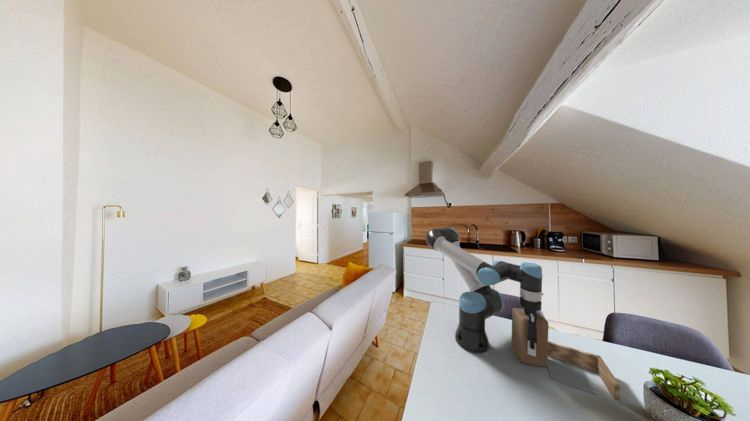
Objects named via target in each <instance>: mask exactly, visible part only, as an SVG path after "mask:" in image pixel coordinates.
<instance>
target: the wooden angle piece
mask: <svg viewBox="0 0 750 421" xmlns="http://www.w3.org/2000/svg"><path fill="white" fill-rule="evenodd" d="M548 357H552V358H555V359H558V360H561V361H565V362H568V363H570V364H573V365H578V366H580V367H583V368H587V369H590V370H593V371H596V373H597V374H598V375H599V377H600V378H601V380H602V382H603V384H604V386H605V388H606V389H607V390H608V392H609V394H610V396H611V397H612V399H613V400H614V401H617V402H620V393H621V392H620V391H621V390H620V388H621V384H620V383H619V382H618V380H617V379H616V377H615V376H614V374H613V373H612V371H611V369H609V367H608V366H607V364H606V362H605V361H604V359H603V358H602V357H601V355H598V354H595V353H591V352H587V351H585V350H580V349H577V348H573V347H569V346H566V345H563V344H559V343H556V342H552V341H549V340H548Z"/></svg>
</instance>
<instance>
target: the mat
mask: <svg viewBox="0 0 750 421" xmlns="http://www.w3.org/2000/svg"><path fill="white" fill-rule="evenodd" d="M546 368H547V369H548V373H549V377H550V380H553V381H556V382H558V383H560V384H561V383H562V384H564V385H567V386H570V387H572V388H575V389H578V390H581V391H584V392H586V393H588V394H593V395H594V396H596V393H595V391H594V388H593V386H592V385H591V383H590V381H589V379H588V377H587V375H586V374H585V371H584V369H581V368H578V367H574V366H571V365H569V364H566V363H562V362H559V361H557V360H553V359H549V358H547V366H546Z"/></svg>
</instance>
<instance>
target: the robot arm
mask: <svg viewBox="0 0 750 421" xmlns="http://www.w3.org/2000/svg"><path fill="white" fill-rule="evenodd" d="M459 237H460V236H459V233H458V231H457V229H454V228H453V227H448V226H445V227H438V228H431V229H430V230H428V231H427V233H426V235H425V242H426V243H427V245H428V246H429V248H431V249H433V251H435V252H439V253H441V254H443V255H444V256H446V257H448V258H450V259H451V261H452V263H453V265H454V266H455V268H456V270H457V271H458V272H459V275H460V276H461V277H462V279H463V280H464V282H465V283H466V285H467V287H468V289H469V290H468V291H466V292H463V293H462V294H461V295H460V296H459V302H458V306H459V307H458V309H459V311H458V321H459V322H458V326H457V327H456V330H455V332H454V333H455V334H454V336H455V338H454V340H455V342H456V343H457V344H458V345H459V346H460V347H461V348H462V349H464V350H465V351H468V352H471V353H473V354H484V353H485V354H486V353H487V352H488V351H489V350H490V341H489V338H488V335H487V332H486V320H487V319H489V318H491V317H493V316H495V315H497V314H499V313H500V312H501V311H503V310H504V307H505V301H504V298H503V295H502V294H501V293H500V292H499V291H498V290H495V289H494V288H492V287H491V286H495V285H497V284H500V283H501V282H504V281H507V280H510V281H514V282H517V283H519V296H520V297H519V304H520V306H521V307H522V308H523V309H524V312H525V315H527V316H528V317H529V318H528V319H529V330H528V338H526V340H528V350H527V353H528V354H529V355H532V356H535V357H536V343H537V327H536V319H537V318H536V317H537V315H536V314H535V313H536V312H535V311H537V312H540V311H541V310H542V304H543V303H542V296H544V293H543V292H542V290H543V287H542V286H543V268H542V266H541V265H539V264H538V263H537V264H536V263H532V262H527V261H524V262H521V263H520V265H518V264H514V263H510V262H506V261H503V260H502V261H501V260H494V261H493V262H492V263H491V264H489V263H487V262H486V261H484V260H482V259H480V258H479V257H477V256H475V255H474V254H471V253H470V252H468V251H466V250H465V249H463V248H461V246H460V244H461V242H460V241H459V240H460V238H459Z"/></svg>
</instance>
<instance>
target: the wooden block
mask: <svg viewBox="0 0 750 421" xmlns="http://www.w3.org/2000/svg"><path fill="white" fill-rule="evenodd" d="M524 309H525V308H520V307H513V308H511V349H512V350H513V352H514V354H515V355H516V356H517V358H518V359H519V361H520V362H521V363H522V364H525V365H531V366H532V365H533V366H538V367H546V368H547V359H548V357H549V356H548V341H549V322H548V320H547V319H546V318H545V317H543V316H542V315H541V313H539V311H535V312H536V313H535V314H536V315H537V317H536V318H537V319H536V327H537V343H536V357H535V356H532V355H529V354H528V353H527V350H528V340H526V338H528V330H529V319H528V318H529V317H528V316H527V315H525V312H524Z"/></svg>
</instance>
